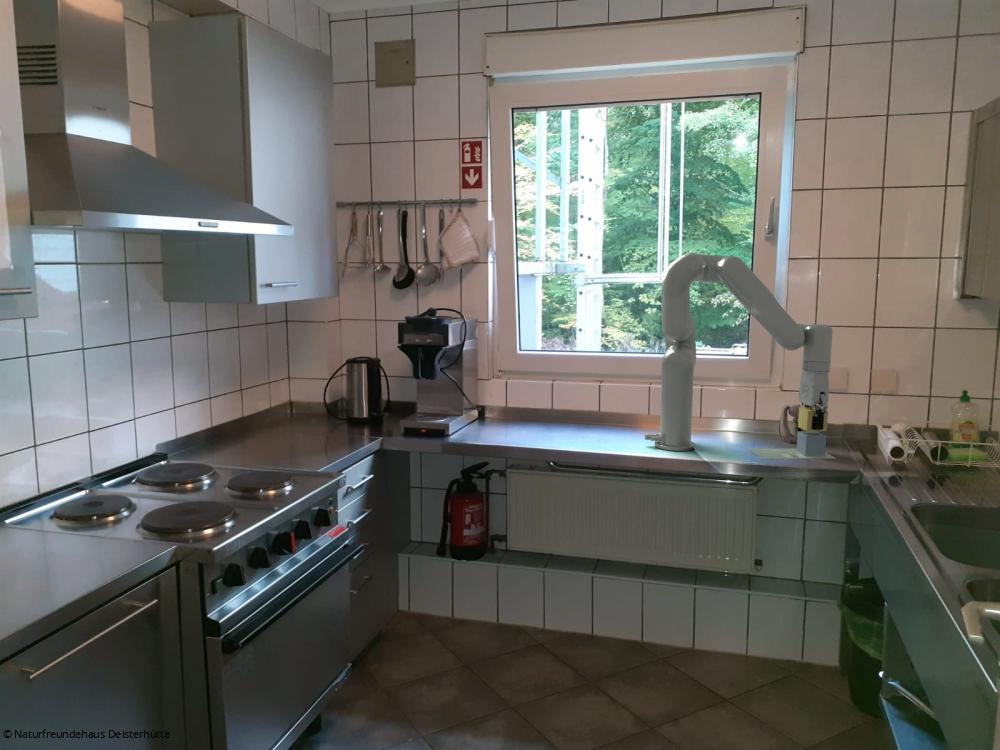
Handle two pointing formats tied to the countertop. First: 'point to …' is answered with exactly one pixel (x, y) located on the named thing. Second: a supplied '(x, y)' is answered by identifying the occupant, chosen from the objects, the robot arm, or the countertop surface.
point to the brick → (809, 419)
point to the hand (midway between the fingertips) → (812, 426)
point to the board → (785, 454)
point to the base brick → (811, 443)
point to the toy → (783, 423)
